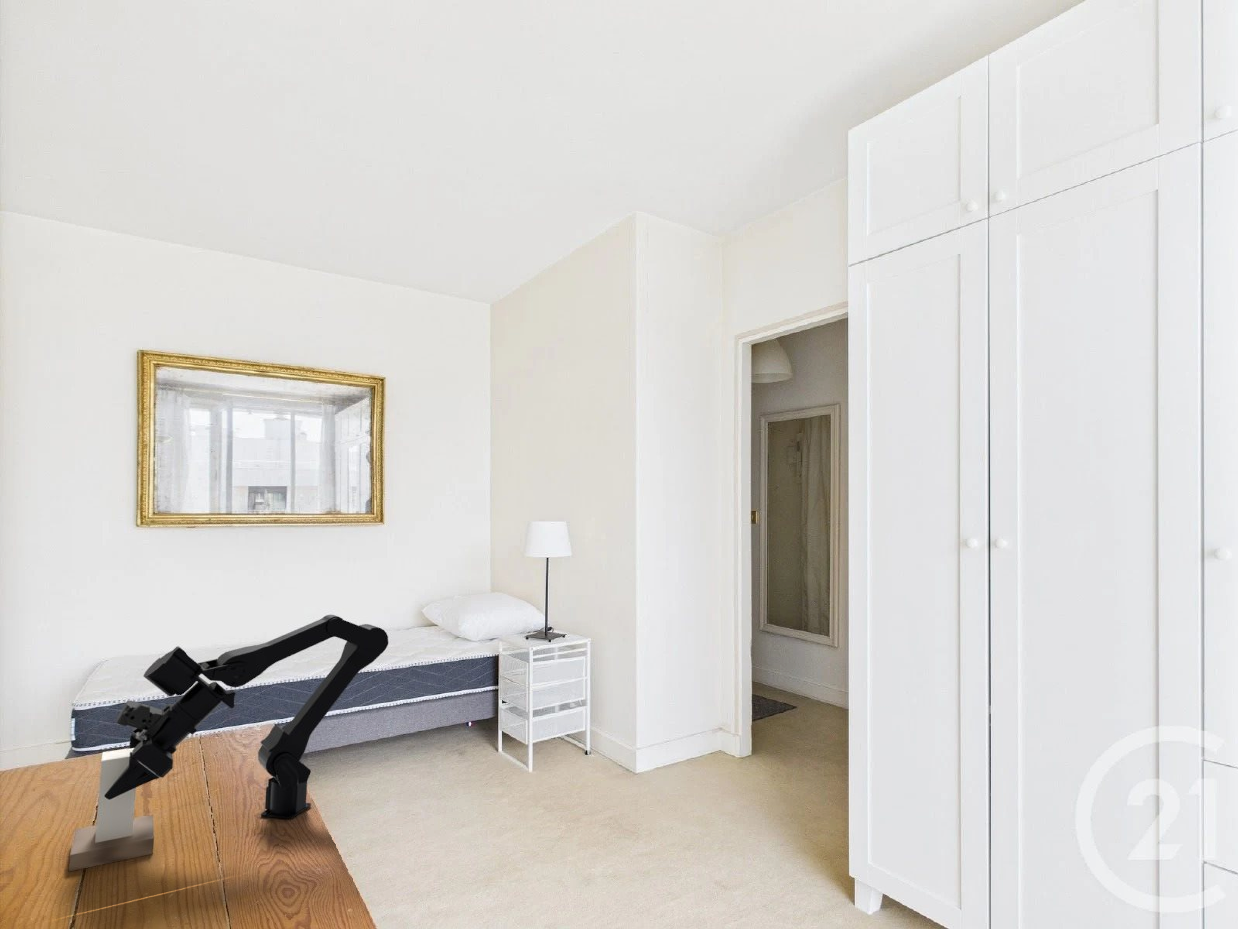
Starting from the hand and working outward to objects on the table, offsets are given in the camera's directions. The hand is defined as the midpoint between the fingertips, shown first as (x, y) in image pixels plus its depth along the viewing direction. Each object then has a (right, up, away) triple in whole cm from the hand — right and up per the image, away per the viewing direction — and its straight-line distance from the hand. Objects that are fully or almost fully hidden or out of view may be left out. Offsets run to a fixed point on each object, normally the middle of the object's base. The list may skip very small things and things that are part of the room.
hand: (107, 788), depth 117 cm
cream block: (+1, -8, 0) cm, 8 cm away
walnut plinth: (+1, -10, 0) cm, 10 cm away
